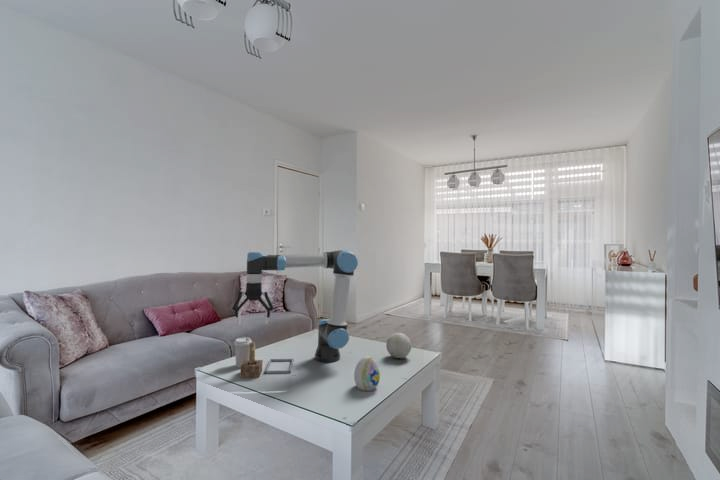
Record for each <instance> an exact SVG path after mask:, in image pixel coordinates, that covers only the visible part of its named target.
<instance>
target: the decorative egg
mask: <svg viewBox="0 0 720 480" xmlns="http://www.w3.org/2000/svg"><path fill="white" fill-rule="evenodd" d="M353 375H354V376H353V377H354V382H355V385H356V387H357V388H358V389H359V390H360V391H365V392H371V391H374V390H375V389H376V388H377V387H378V386H379V382H380V376H381V372H380V369H379V365H378V362H376V360H375V358H373V357H372V356H370V355H365V356H363V357H361V358H360V359H359V360H358V362H357V364H356V366H355V369H354V374H353Z"/></svg>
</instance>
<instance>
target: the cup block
mask: <svg viewBox="0 0 720 480" xmlns="http://www.w3.org/2000/svg"><path fill="white" fill-rule="evenodd" d="M262 372H263V359H255V365H249V360H245V361H244V362H243V364H242V365H241V368H240V379H253V378H254V379H256V378H257V379H259V378H260V377H261V374H262Z"/></svg>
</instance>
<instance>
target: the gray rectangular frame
mask: <svg viewBox="0 0 720 480" xmlns="http://www.w3.org/2000/svg"><path fill="white" fill-rule="evenodd" d="M294 360H295V359H294V358H270V359H269V361H268V364H267V365H266V368H265V370H264V374H265V375H268V374H269V375H272V374H274V375H276V374H279V375H282V374H285V375H286V374H291V373H292V368H293V365H294ZM272 362H273V363H276V362H277V363H278V362H279V363H280V362H284V363H285V362H290V365H289V369H287V370H269V369H270V366H271V364H272Z"/></svg>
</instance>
